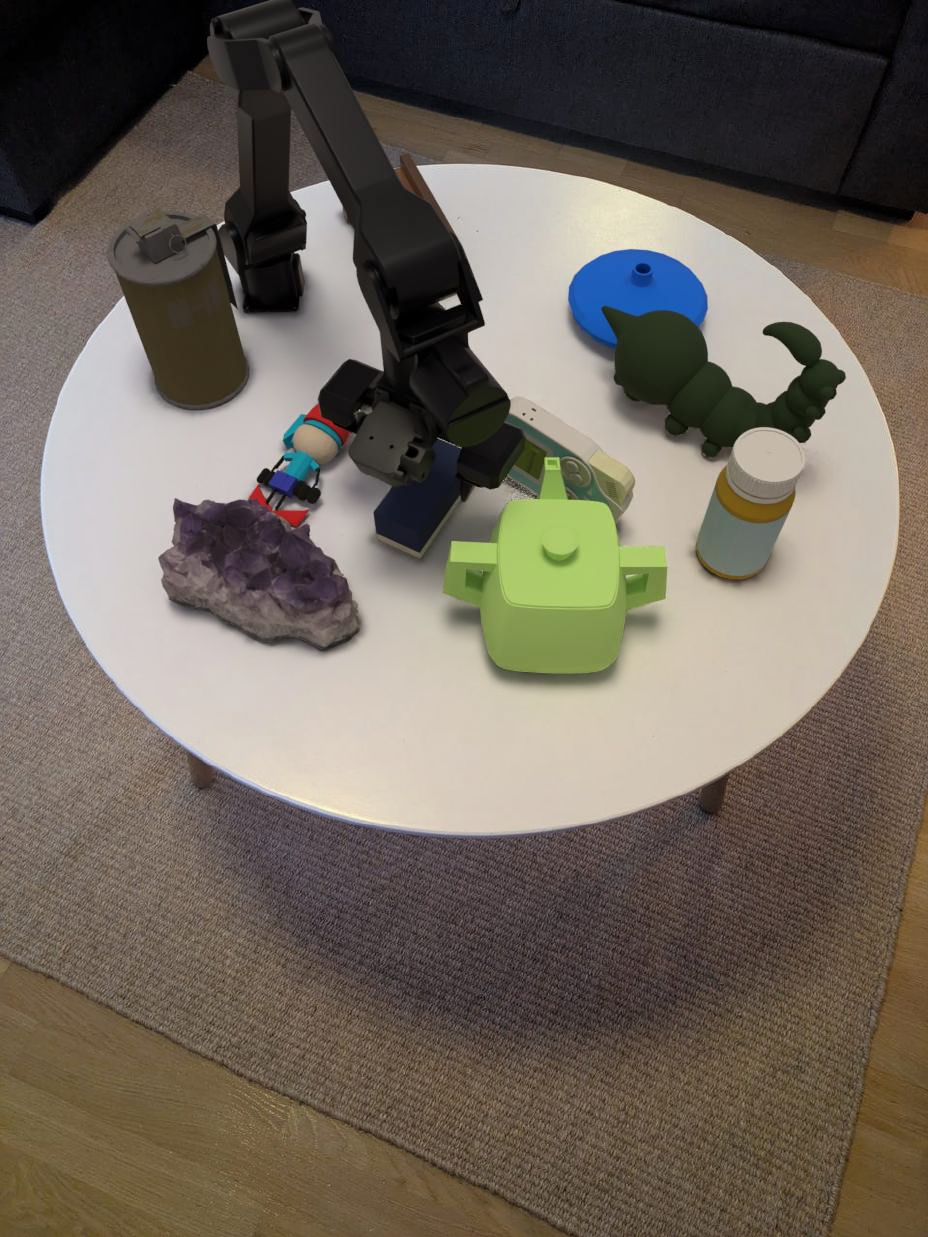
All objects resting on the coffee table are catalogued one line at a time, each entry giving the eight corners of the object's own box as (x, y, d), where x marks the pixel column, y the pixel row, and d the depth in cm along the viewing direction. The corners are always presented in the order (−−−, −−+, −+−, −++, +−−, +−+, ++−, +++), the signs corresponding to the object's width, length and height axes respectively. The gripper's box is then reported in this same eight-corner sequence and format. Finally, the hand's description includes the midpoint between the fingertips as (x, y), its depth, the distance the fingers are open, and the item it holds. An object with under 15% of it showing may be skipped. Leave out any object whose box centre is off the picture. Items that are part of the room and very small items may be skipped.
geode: (391, 577, 98) (380, 529, 88) (336, 680, 94) (319, 640, 84) (211, 503, 101) (183, 449, 92) (151, 599, 97) (115, 553, 88)
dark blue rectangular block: (420, 559, 99) (418, 532, 95) (376, 539, 100) (373, 511, 96) (473, 481, 103) (473, 453, 100) (431, 463, 105) (430, 434, 101)
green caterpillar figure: (802, 457, 107) (612, 337, 113) (879, 331, 90) (651, 198, 96) (757, 513, 103) (563, 386, 109) (828, 392, 87) (594, 250, 93)
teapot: (449, 519, 101) (446, 432, 90) (648, 523, 101) (670, 437, 89) (441, 682, 92) (437, 607, 80) (660, 687, 91) (687, 613, 80)
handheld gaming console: (602, 552, 101) (481, 473, 104) (616, 533, 103) (496, 455, 105) (630, 491, 91) (496, 405, 94) (646, 471, 93) (513, 387, 95)
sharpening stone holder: (390, 309, 116) (386, 265, 111) (343, 215, 125) (337, 169, 120) (462, 290, 118) (462, 245, 113) (411, 198, 127) (408, 152, 121)
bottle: (771, 535, 100) (816, 434, 87) (759, 591, 96) (803, 495, 84) (703, 516, 101) (737, 414, 88) (687, 571, 98) (720, 474, 85)
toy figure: (307, 538, 102) (379, 423, 106) (292, 514, 97) (368, 395, 102) (247, 513, 104) (320, 401, 109) (230, 488, 100) (306, 373, 104)
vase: (709, 282, 119) (722, 232, 112) (694, 378, 111) (707, 329, 105) (578, 262, 120) (584, 211, 114) (554, 355, 113) (559, 306, 107)
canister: (187, 425, 108) (134, 274, 90) (137, 371, 112) (77, 217, 94) (271, 377, 111) (235, 223, 94) (219, 326, 115) (176, 170, 98)
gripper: (270, 386, 83) (298, 501, 96) (468, 471, 78) (468, 579, 92) (342, 303, 88) (359, 424, 101) (532, 378, 83) (523, 494, 97)
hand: (424, 480), depth 98 cm, fingers open, 9 cm apart
